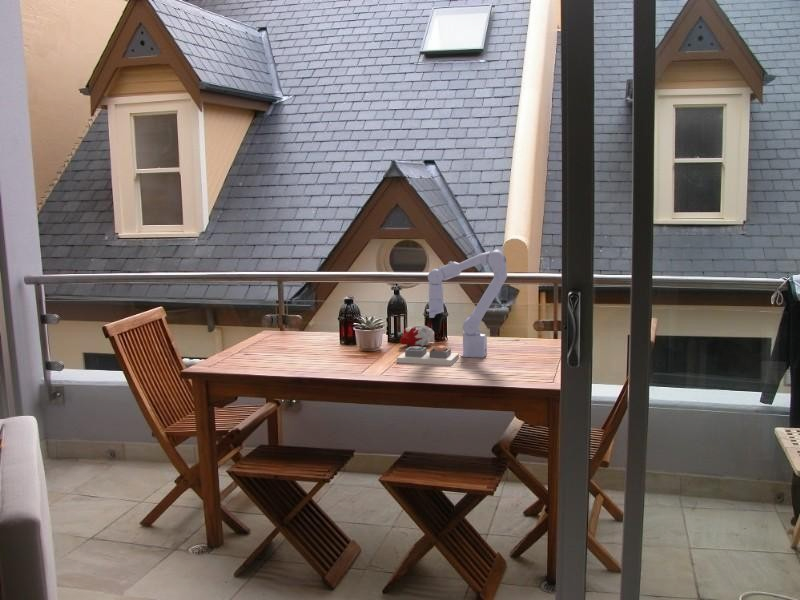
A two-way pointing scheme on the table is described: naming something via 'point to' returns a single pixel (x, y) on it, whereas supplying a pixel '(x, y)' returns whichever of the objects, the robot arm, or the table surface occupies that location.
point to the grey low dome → (416, 348)
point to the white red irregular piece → (416, 335)
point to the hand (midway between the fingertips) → (436, 332)
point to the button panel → (428, 357)
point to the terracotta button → (440, 348)
